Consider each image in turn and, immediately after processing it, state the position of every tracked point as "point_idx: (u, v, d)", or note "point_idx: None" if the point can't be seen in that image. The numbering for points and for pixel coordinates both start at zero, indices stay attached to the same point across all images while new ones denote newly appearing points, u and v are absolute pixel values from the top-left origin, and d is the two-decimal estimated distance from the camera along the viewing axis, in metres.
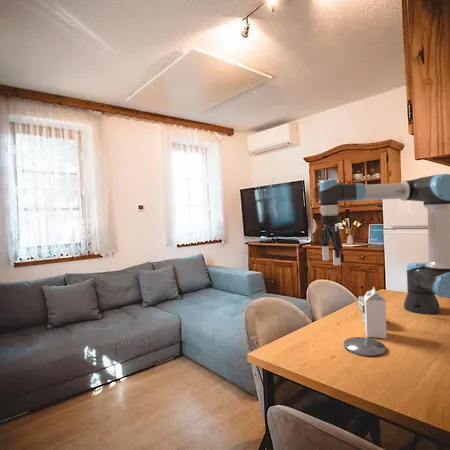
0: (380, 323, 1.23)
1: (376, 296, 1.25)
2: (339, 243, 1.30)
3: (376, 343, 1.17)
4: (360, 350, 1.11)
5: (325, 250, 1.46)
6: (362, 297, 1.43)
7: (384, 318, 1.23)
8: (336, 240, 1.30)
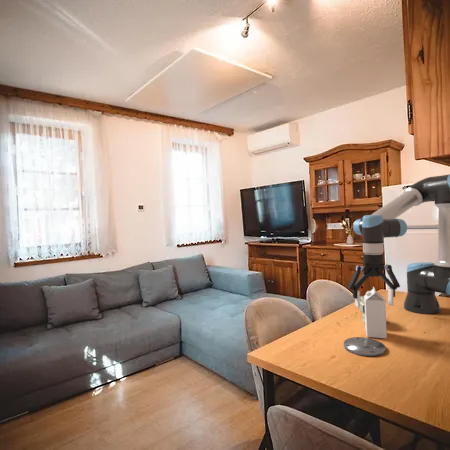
0: (380, 323, 1.23)
1: (376, 296, 1.25)
2: (351, 283, 1.26)
3: (376, 343, 1.17)
4: (360, 350, 1.11)
5: (389, 293, 1.27)
6: (362, 297, 1.43)
7: (384, 318, 1.23)
8: (351, 279, 1.27)
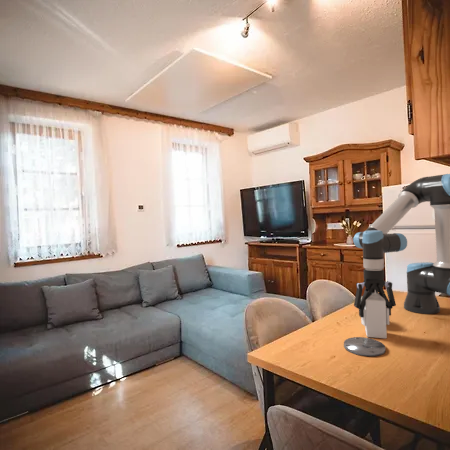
0: (380, 323, 1.23)
1: (376, 296, 1.25)
2: (356, 302, 1.26)
3: (376, 343, 1.17)
4: (360, 350, 1.11)
5: None
6: None
7: (384, 318, 1.23)
8: (355, 298, 1.27)
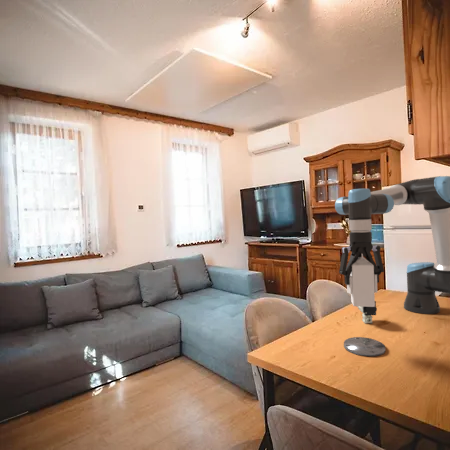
0: (368, 290, 1.11)
1: (363, 261, 1.14)
2: (341, 268, 1.14)
3: (376, 343, 1.17)
4: (360, 350, 1.11)
5: None
6: None
7: (372, 284, 1.11)
8: (341, 264, 1.15)
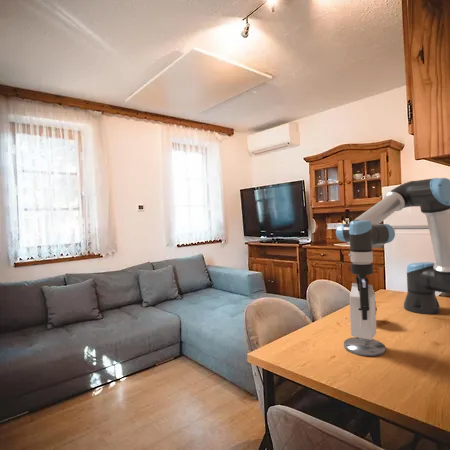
0: (374, 319, 1.15)
1: None
2: (366, 304, 1.08)
3: (376, 343, 1.17)
4: (360, 350, 1.11)
5: None
6: None
7: (375, 312, 1.16)
8: (362, 300, 1.08)
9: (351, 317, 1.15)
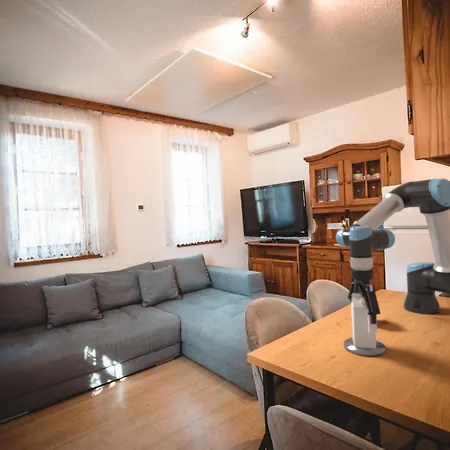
0: None
1: None
2: (376, 307, 1.06)
3: (376, 343, 1.17)
4: (360, 350, 1.11)
5: None
6: None
7: None
8: (372, 303, 1.06)
9: (355, 328, 1.13)
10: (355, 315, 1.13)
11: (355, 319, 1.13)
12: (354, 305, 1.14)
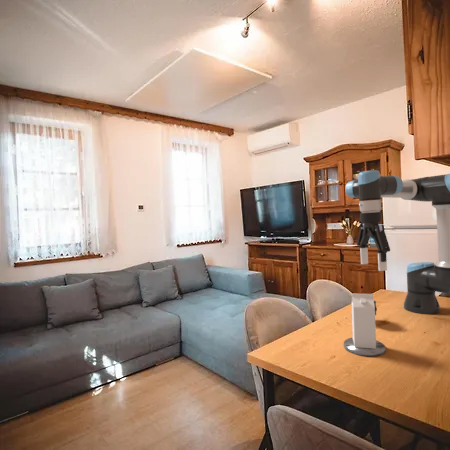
0: None
1: None
2: (386, 245, 1.10)
3: (376, 343, 1.17)
4: (360, 350, 1.11)
5: (364, 252, 1.26)
6: None
7: None
8: (382, 241, 1.11)
9: (355, 328, 1.13)
10: (355, 315, 1.13)
11: (355, 319, 1.13)
12: (354, 305, 1.14)
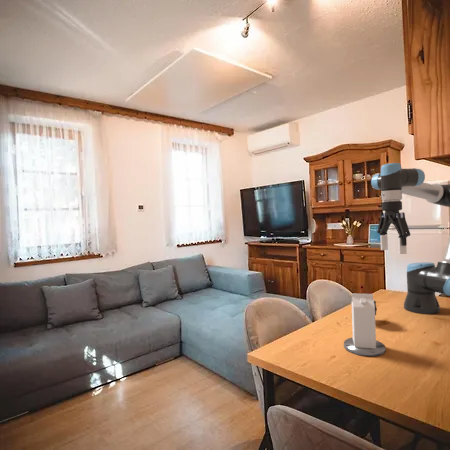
0: None
1: None
2: (406, 230, 1.22)
3: (376, 343, 1.17)
4: (360, 350, 1.11)
5: (384, 239, 1.38)
6: None
7: None
8: (403, 227, 1.22)
9: (355, 328, 1.13)
10: (355, 315, 1.13)
11: (355, 319, 1.13)
12: (354, 305, 1.14)
